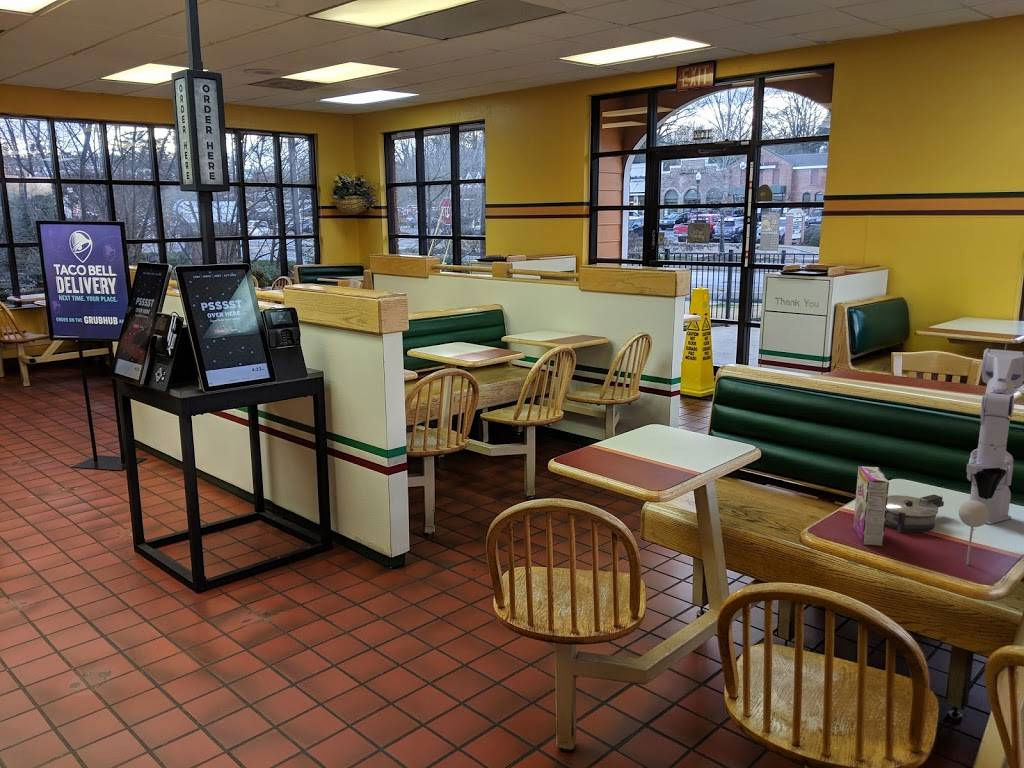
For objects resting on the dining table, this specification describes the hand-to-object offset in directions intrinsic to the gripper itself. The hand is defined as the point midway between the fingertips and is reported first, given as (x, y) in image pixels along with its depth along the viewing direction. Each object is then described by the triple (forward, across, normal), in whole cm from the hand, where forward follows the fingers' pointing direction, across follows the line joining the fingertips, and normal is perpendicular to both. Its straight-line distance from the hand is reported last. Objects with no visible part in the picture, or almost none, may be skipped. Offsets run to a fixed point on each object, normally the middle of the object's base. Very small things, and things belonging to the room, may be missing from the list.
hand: (985, 497), depth 193 cm
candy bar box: (+11, -24, +13) cm, 29 cm away
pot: (+10, -4, +15) cm, 19 cm away
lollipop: (+11, -17, -8) cm, 22 cm away
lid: (+6, -4, +15) cm, 17 cm away
